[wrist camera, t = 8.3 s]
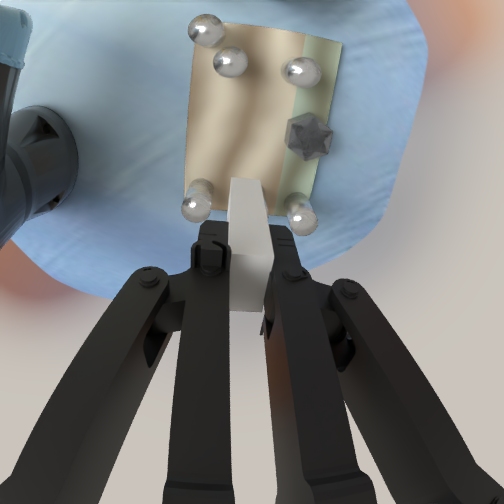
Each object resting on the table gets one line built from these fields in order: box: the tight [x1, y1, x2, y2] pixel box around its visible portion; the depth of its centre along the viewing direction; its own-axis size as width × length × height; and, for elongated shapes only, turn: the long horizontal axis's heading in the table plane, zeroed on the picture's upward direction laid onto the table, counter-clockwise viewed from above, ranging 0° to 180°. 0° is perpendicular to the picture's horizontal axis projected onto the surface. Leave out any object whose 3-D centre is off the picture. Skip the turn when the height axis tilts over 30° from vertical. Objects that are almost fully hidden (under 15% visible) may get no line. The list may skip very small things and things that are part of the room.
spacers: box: [181, 14, 321, 236], centre depth 27 cm, size 15×22×5 cm
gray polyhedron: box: [284, 112, 333, 161], centre depth 29 cm, size 5×4×2 cm
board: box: [184, 23, 342, 217], centre depth 30 cm, size 15×22×1 cm
